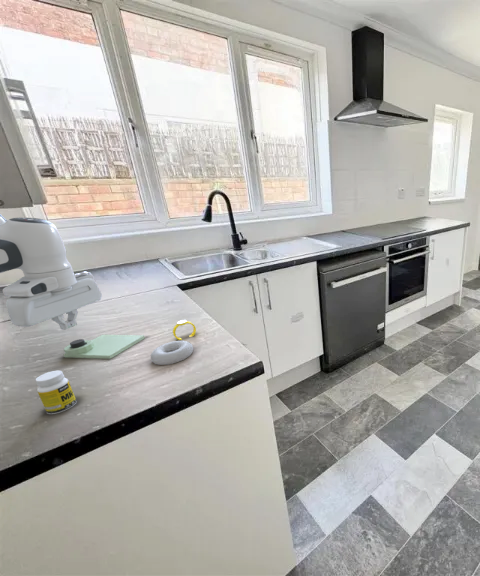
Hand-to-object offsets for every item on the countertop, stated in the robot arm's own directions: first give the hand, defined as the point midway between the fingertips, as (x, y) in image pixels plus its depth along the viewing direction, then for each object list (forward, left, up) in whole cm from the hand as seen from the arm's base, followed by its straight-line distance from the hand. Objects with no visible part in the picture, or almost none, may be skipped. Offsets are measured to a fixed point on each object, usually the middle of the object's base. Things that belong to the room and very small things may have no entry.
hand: (69, 327), depth 86 cm
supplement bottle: (+19, -21, -9) cm, 30 cm away
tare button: (0, 0, -6) cm, 6 cm away
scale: (+5, +4, -9) cm, 11 cm away
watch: (+25, +11, -9) cm, 28 cm away
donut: (+29, 0, -9) cm, 30 cm away
